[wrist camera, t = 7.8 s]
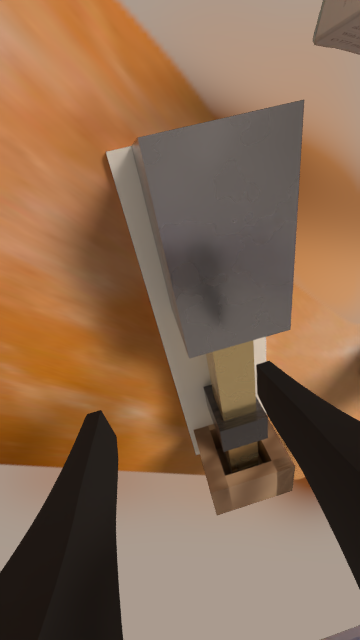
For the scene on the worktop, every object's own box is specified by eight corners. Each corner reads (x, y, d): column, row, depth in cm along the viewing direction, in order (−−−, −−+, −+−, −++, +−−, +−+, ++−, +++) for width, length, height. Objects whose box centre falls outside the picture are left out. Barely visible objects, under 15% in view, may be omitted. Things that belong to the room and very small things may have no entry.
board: (261, 116, 14) (264, 115, 14) (265, 430, 32) (266, 433, 31) (105, 152, 14) (105, 151, 14) (195, 452, 31) (196, 455, 31)
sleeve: (240, 120, 14) (304, 99, 9) (248, 288, 20) (290, 329, 15) (131, 146, 14) (137, 137, 9) (172, 309, 19) (189, 358, 15)
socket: (262, 409, 28) (295, 466, 23) (262, 434, 31) (292, 490, 26) (193, 430, 28) (210, 493, 23) (200, 453, 31) (216, 515, 25)
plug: (236, 286, 19) (267, 320, 15) (247, 432, 30) (267, 474, 26) (185, 300, 19) (203, 338, 15) (214, 442, 29) (229, 486, 25)
